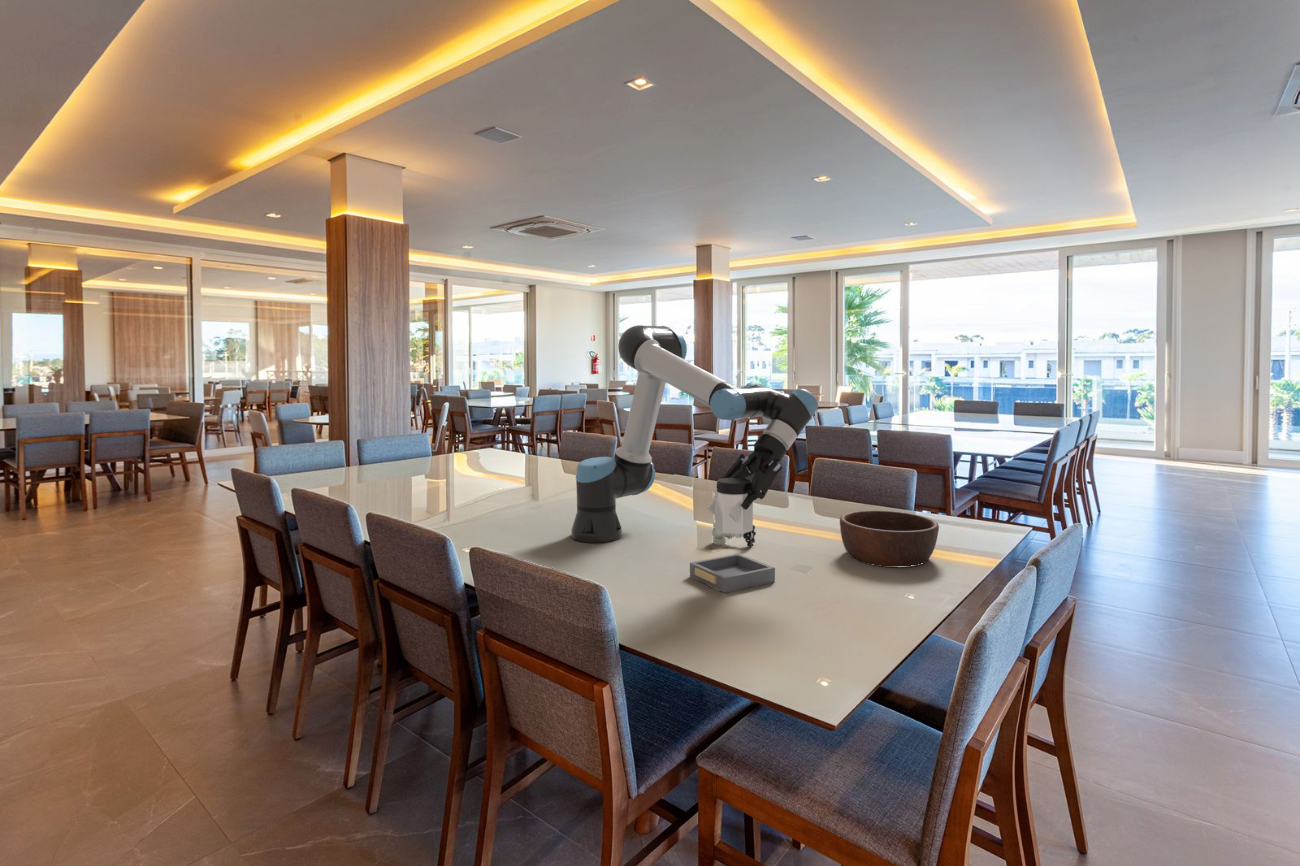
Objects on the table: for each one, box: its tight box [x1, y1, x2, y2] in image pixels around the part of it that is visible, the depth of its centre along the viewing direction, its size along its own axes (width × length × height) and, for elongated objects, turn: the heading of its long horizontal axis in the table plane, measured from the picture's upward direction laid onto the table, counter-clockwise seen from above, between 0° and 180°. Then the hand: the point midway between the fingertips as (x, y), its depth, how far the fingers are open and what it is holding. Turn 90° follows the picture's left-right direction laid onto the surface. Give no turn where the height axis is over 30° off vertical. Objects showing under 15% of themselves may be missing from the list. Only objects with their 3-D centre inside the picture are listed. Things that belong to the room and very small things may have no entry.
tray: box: [689, 553, 776, 594], centre depth 164 cm, size 14×16×4 cm
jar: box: [714, 478, 754, 534], centre depth 162 cm, size 9×8×12 cm
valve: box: [711, 520, 757, 547], centre depth 195 cm, size 7×7×12 cm
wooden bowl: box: [839, 509, 940, 567], centre depth 182 cm, size 25×25×10 cm
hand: (721, 514), depth 161 cm, fingers closed on jar, 8 cm apart
